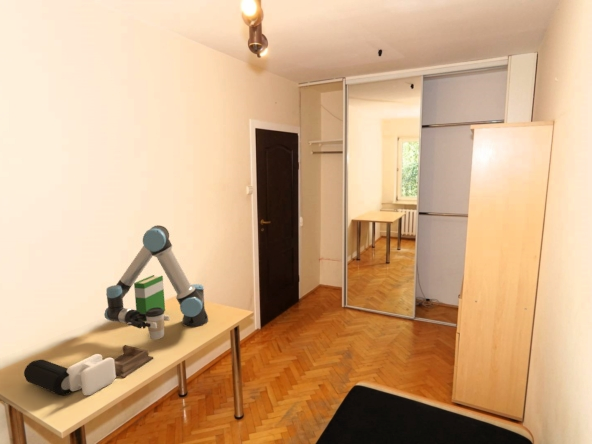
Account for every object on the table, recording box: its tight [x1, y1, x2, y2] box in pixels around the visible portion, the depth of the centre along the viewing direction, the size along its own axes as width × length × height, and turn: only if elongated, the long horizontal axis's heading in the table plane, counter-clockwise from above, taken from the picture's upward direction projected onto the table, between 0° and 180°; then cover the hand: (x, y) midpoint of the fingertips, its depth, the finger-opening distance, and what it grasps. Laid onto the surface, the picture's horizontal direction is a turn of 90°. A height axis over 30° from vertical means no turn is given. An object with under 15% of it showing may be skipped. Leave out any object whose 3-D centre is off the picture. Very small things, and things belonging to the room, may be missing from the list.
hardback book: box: [133, 274, 166, 322], centre depth 233 cm, size 18×7×24 cm, turn 163°
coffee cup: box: [146, 307, 165, 340], centre depth 191 cm, size 9×9×15 cm
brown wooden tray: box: [102, 344, 154, 379], centre depth 175 cm, size 16×18×5 cm
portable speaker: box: [23, 359, 73, 396], centre depth 157 cm, size 26×10×10 cm, turn 64°
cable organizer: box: [67, 353, 117, 396], centre depth 157 cm, size 15×11×12 cm
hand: (162, 321), depth 189 cm, fingers closed on coffee cup, 9 cm apart
